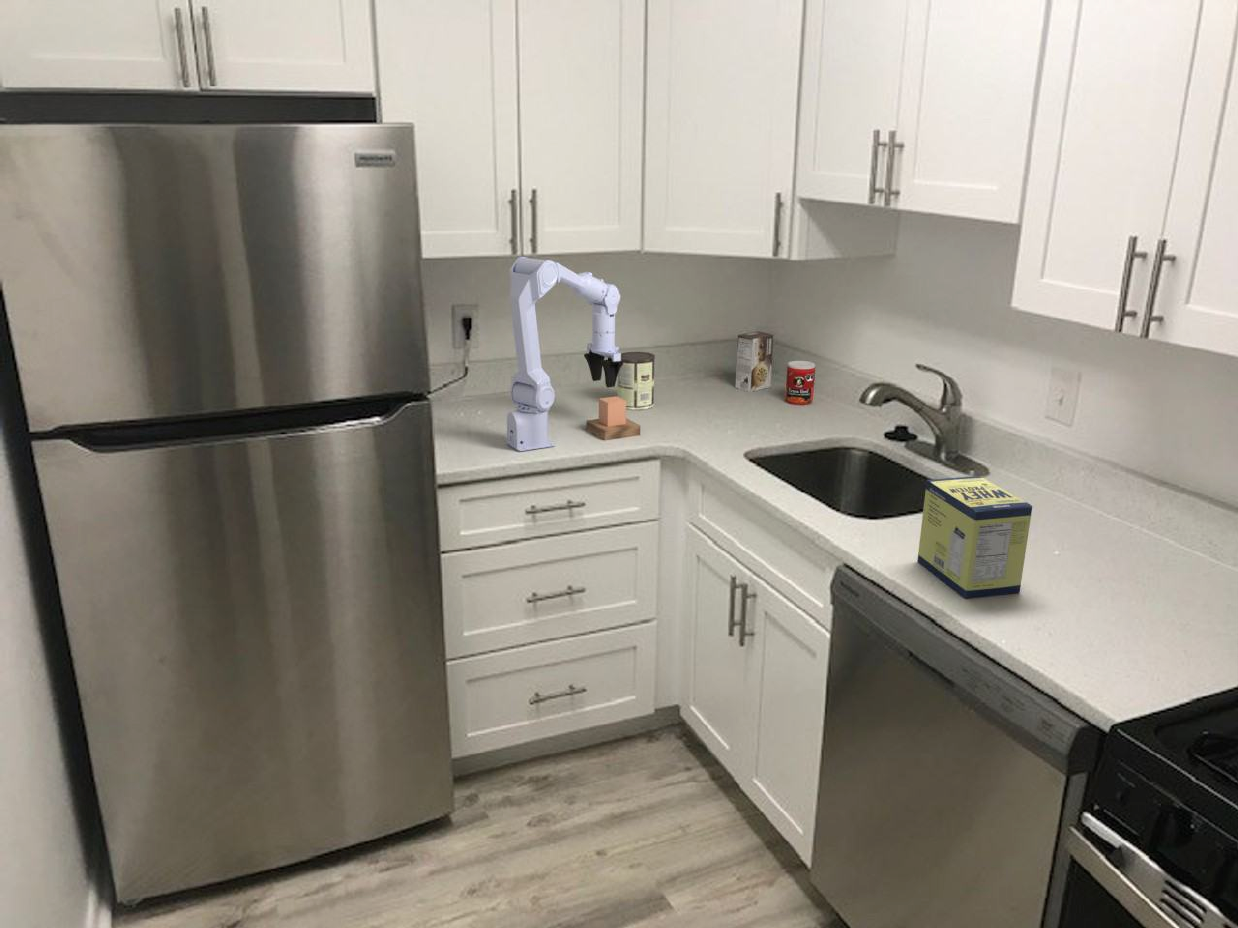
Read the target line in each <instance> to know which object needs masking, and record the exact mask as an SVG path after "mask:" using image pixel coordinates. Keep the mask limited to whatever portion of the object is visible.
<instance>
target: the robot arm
mask: <svg viewBox="0 0 1238 928" xmlns="http://www.w3.org/2000/svg"><path fill="white" fill-rule="evenodd" d="M509 280H510V292H509V303H510V304H509V305H510V306H509V307H510V312H511V321H512V330H513V337H514V346H515V353H516V363H517V371H516V372H515V373H514V374H513V375H512V376H511V378H510V381H511V384H510V385H511V386H510V388H509V389H510V390H509V397H510V399H511V401H512V403H513V404H514V406H515V409H516V410H515V409H514V410H513V411H510V412H508V414H507V416H506V436H507V437H506V439H507V440H506V441H505V443H506V444H507V445H509V446H510V447H512V448H513V449H515V450H516V451H518V452H523V451H524V452H525V451H531V450H538V449H544V448H550V447H555V445H556V444H555V443H554V442H552V441H550V440H549V422H548V421H549V416H548V415H549V414H548V413H549V411H550V410H551V407H552V405H553V404H554V401H555V399H556V398H555V396H556V395H555V393H556V392H555V389H554V388H553V386H552V383H551V378H550V376H549V375H548V374H547V372H545V371H544V369H543V368H542V367H543V366H542V360H541V359H542V358H541V350H540V349H541V348H540V340H539V332H538V331H539V330H538V325H537V324H538V321H537V315H536V305H535V304H536V303H537V301H538V300H539V299H541V298H542V297H544V296H545V294H547V293H548V292H549V291H550V290H551V289H552V288H553V287H554V286H555V285H556V283H557V284H558V283H560V284H563V285H564V286H565V285H566V286H568V287H570V288H571V291H572V293H573V294H574V295H575V296H577V297H580V298H582V299H584V300H586V301H588V302H587V303H589V305H592V310H591V311H592V313H591V314H592V315H591V317H592V318H591V319H592V327H591V328H592V331H591V333H592V337H591V339H592V342H589V343H586V347H587V348H586V349H587V350H586V351H587V352H588V353H586V352H585V353H584V354H583V356H584V359H585V360H586V361H587V365H588V369H589V371H590V376H591V381H593V382H597V381H601V380H602V375H603V372H604V381H605V386H606V388H614V387H615V386H616V383H617V380H618V373H619V370H620V368H621V366H622V365H623V363H624V361H623V360H621V353H622V352H619V350H620V347H619V346H616V314H617V312H618V306H619V303H620V301H621V294H620V291H619V289H618V288H617V286H616V285H615V284H612V283H611V284H610V283H606V282H604V280H605V279H602V278H597V277H595V276H593V273H592V272H589V271H584V272H580V273H578V274H577V273H575V272H574V271H573V270H570V269H569V268H567V267H566V266H564V265H562V264H561V263H560V262H556V261H553V260H550V259H547V260H546V259H537V258H529V257H526V256H521V257H518V258H517V259H516V260H515V261H514V262H513V264H512V266H511V267H510V268H509ZM605 358H607V359H605Z"/></svg>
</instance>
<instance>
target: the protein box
mask: <svg viewBox="0 0 1238 928" xmlns="http://www.w3.org/2000/svg"><path fill="white" fill-rule="evenodd" d="M925 485H926V486H925V494H924V500H923V508H922V509H923V510H922V518H921V524H920V525H921V528H920V536H919V543H918V551H917V561H918V562H917V561H916V562H917V563H919V565H920V566H922V567H924V568H925V569H926V568H927V569H926V570H927V571H929V572H930V573H931V572H932V574H933V575H934V576H935V577H936V576H937V577H936V578H938V579H939V580H941V581H942V582H943V583H944V584H946V586H948V587H949V588H950V589H952V590H953V591H954V590H955V591H954V592H956V594H960V595H959V596H961V597H962V598H963V599H972V598H973V599H974V598H980V597H981V598H982V597H992V596H998V595H999V596H1000V595H1008V594H1018V593H1020V592H1021V588H1022V587H1021V586H1022V581H1023V580H1022V578H1023V572H1024V566H1025V559H1026V552H1027V546H1028V544H1027V543H1028V538H1029V534H1030V533H1029V532H1030V525H1031V520H1032V511H1033V505H1032V504H1030V503H1028V502H1027V501H1025V500H1023V499H1021V498H1020V497H1018V496H1015V494H1012V493H1010V492H1009V491H1006V490H1005V489H1003V488H1001V487H1000V486H997V485H996V484H995V483H992V482H991V481H988V480H987V479H986V478H984V477H982V476H980V475H974V476H973V475H972V476H971V475H970V476H960V477H950V478H949V477H948V478H937V479H936V478H935V479H934V478H933V479H926V484H925Z"/></svg>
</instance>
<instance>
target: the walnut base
mask: <svg viewBox="0 0 1238 928" xmlns="http://www.w3.org/2000/svg"><path fill="white" fill-rule="evenodd" d="M585 421H586V425H585V426H586V431H588V432H589V433H591V434H592V435H594V436H596V437H597V438H600V439H601V440H604V441H612V440H618V439H625V438H630V437H636V436H637V437H638V436H641V424H639V423H636V422H634V421H633V420H630V419H629V418H627V417H626V424H623V425H616V426H609V427H608V426H606V425H604V424H602V423H600V422H599V418H596V419H590V420H589V419H587V420H585Z"/></svg>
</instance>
